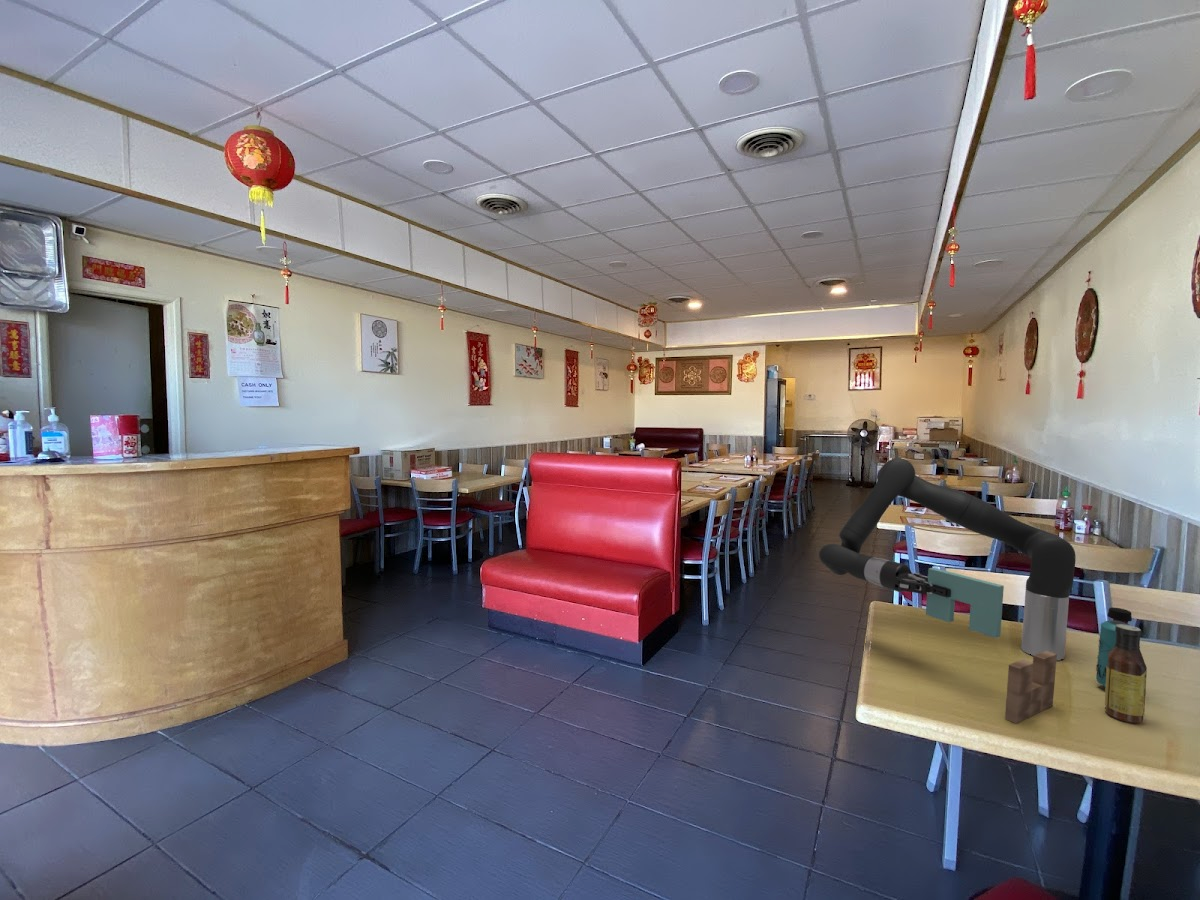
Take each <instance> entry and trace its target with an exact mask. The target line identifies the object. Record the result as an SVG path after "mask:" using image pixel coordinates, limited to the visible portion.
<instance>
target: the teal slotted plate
mask: <svg viewBox="0 0 1200 900" xmlns="http://www.w3.org/2000/svg"><path fill="white" fill-rule="evenodd" d="M927 575H928V582H929V583H932V584H934V585H939V586H942V587H946V588H949V589H950V590H951V596H950V597H948V598H947V597H943V596H940V595H937V594H934V593H933V594H929V593H927V594H926V602H925V615H926V616H929V617H931V618H934V619H936V620H937V619H938V620H941V621H943V622H946V623H951V622H952V623H953V622H954V621H955V606H956V605H955V604H956V601H957V602H961V603H964V604H967V605H970V607H969V609H970V610H969V621H968V622H969V623H968V624H969V625H968V630H969V631H970V630H971V631H973V632H977V633H978V634H982V635H985V636H988V637H990V638H994V639H997V638H1001V633H1002V630H1001V629H1002V616H1003V600H1004V589H1005V586H1004V585H1002V584H998V583H995V582H990V581H987V580H983V579H979V578H976V577H972V576H968V575H963V574H959V573H956V572H951V571H948V570H943V569H940V568H936V567H930V568H928V572H927Z"/></svg>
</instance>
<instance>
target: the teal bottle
mask: <svg viewBox="0 0 1200 900" xmlns="http://www.w3.org/2000/svg"><path fill="white" fill-rule="evenodd" d="M1107 617H1109V618H1111V620H1110V619H1109V620H1108V619H1107V620H1105V621H1104V622H1101V623H1100V632H1099V638H1098V652H1097V659H1096V660H1097V662H1096V666H1095V672H1096V674H1095V679H1096V682H1097V683H1098V684H1099V685H1102V686H1103V687H1106V669H1107V665H1108V664H1107V662H1108V653H1109V652H1110V651H1111V650H1112V649H1113V648H1114V646H1115V642H1116V631H1115V627H1116V625H1117V624H1123V625H1129V626H1132V625H1131V624H1129V623H1126V622H1132V620H1133V619H1132V617H1133V616H1132V612H1131V611H1130V610H1128V609H1124V608H1120V607H1119V608H1118V607H1109V608H1108V612H1107ZM1112 619H1114V620H1112Z"/></svg>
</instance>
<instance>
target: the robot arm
mask: <svg viewBox="0 0 1200 900" xmlns="http://www.w3.org/2000/svg"><path fill="white" fill-rule="evenodd" d="M876 474H877V475H876V478H877V481H876V483H875V485H874V487H873V488H872V490H871V491H870V492H869V494H868V495H867V497H866V498H865V499H864V500H863V502H862V503H861V504H860V505H859V506H858V507H857V509H855V511H854V512H853V513H852V515H851V516H850V517H849V519H848V520H847V522H846V523H845V524H844V526H843V527H842V529H841V530H840V532H839V539H840V541H841V545H840V544H835V543H829V544H825V545H823V546H822V547H821V548H820V550H819V551H818V557H819V561H821V563H822V564H823V565H824V566H825V567H826V568H827V569H829V570H830V571H831V572H832V573H833V574H835V575H837V576H843V575H844V576H845V575H846V574H849V575H851V576H853V578H854V577H855V578H856V579H860V580H862V581H866V582H869V583H872V584H873V585H876V586H879V587H882V588H884V589H885V588H886V589H888V590H892V591H895V592H897V593H903V592H909V593H916V594H921V595H927V593H929V594H933V593H934V594H937V595H940V596H943V597H947V598H948V597H950V596H951V590H950V589H949V588H946V587H942V586H939V585H934V584H932V583H929V582H928V574H927V576H926V575H924V574H921V573H918V572H912V570H911V568H910V567H909V565H907V564H905V563H901V562H897V561H892V560H889V559H886V558H879V557H874V556H870V555H866V554H862V553H860V552H861V549H862V547H863V544H864V543H865V542H866V540H867V539H868V538H869V537H870V535H871V534H872V532H873V530H874V529H875V528H876V526H877V524H878V523H879V521H880V520H881V519H882V517H883V515H884V514H885V512H886V511H887V509H888V508H889V507H890V505H891V504H892V503H893V502H894V501H895V499H896V498H897V497H898V496H899V497H902V498H905V499H907V500H910V501H913V502H915V503H917V504H919V505H921V506H922V507H924V508H926V509H928V510H930V511H932V512H933V513H935V514H938V515H940V516H942V518H945V519H947V520H949V521H951V522H952V523H955V524H956V525H958V526H960V527H963V528H965V529H967V530H969V531H971V532H973V533H976V534H979V535H982V536H985V537H987V538H991V539H994V540H997V541H1000V542H1003V543H1005V544H1006V545H1008V546H1010V547H1012V548H1013V549H1015V550H1016V551H1018V552H1021V553H1022V554H1024V555H1025V556H1026V557H1028V558H1029V559H1030V560H1031V561H1030V569H1029V570H1030V571H1029V576H1028V578H1027V579H1026V581H1025V596H1024V606H1023V607H1024V608H1023V609H1024V610H1023V620H1022V621H1023V622H1022V635H1021V646H1020V647H1021V648H1020V649H1021V651H1023V652H1024V653H1026V654H1028V655H1030V654H1031V655H1030V656H1033V655H1036V654H1039V653H1041V652H1044V651H1049V652H1052V653H1055V654H1057V659H1056V661H1062V660H1061V659H1063V660H1064V659H1065V652H1066V639H1067V627H1068V615H1069V601H1070V591H1071V590H1072V587H1073V584H1074V577H1075V568H1076V560H1077V559H1076V557H1077V556H1076V551H1075V549H1074V547H1073V545H1072V544H1071V543H1070V542H1068V541H1067V540H1066V539H1064V538H1063V537H1062V536H1059V535H1057V534H1055V533H1052V532H1049V531H1045V530H1043V529H1040V528H1037V527H1034V526H1033V525H1029V524H1028V523H1027V524H1026V523H1025V522H1023V521H1019V520H1018V519H1015V518H1014V517H1012V516H1010V515H1009V514H1008V513H1006V512H1005V511H1003V510H1001V509H1000V508H997V506H994V505H993V504H990V503H989V502H986V501H985V500H983V499H981V498H978V497H977V496H975V495H972V494H969V493H968V492H965V491H962V490H958V489H955V488H952V487H947V486H943V485H939V484H935V483H932V482H930V481H928V480H925V479H924V478H922V477H920V476H918V475H916V469H915V467H914V466H913V464H912V463H911V462H910V461H909V460H907V459H905V458H900V457H899V458H893V459H890V460H888V461H886V462H885V463H884V464H883V465H882V466H881V467H880V469H879V470H878V472H877V473H876Z"/></svg>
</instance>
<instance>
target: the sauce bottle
mask: <svg viewBox="0 0 1200 900" xmlns="http://www.w3.org/2000/svg"><path fill="white" fill-rule="evenodd" d="M1129 625H1130V624H1129ZM1129 625H1123V624H1117V625H1116V627H1115V631H1116V642H1115V646H1114V648H1113V649H1112V650H1111V651H1110V652H1109V653H1108V662H1107V664H1108V665H1107V669H1106V686H1105V692H1104V693H1105V695H1104V705H1105V707H1104V709H1105V710H1104V711H1105V712H1106V713H1107V714H1108V715H1109V716H1110V717H1113V718H1115V719H1116V720H1119V721H1122V722H1126V723H1131V724H1141V723H1143V721H1144V716H1145V712H1146V710H1145V709H1146V693H1147V692H1146V691H1147V690H1146V688H1147V673H1148V667H1147V665H1146V663H1145V659H1144V656H1143V654H1142V652H1141V646H1140V644H1141V637H1142V630H1141V629H1140V628H1139V627H1136V626H1133V625H1131V626H1129Z"/></svg>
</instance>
